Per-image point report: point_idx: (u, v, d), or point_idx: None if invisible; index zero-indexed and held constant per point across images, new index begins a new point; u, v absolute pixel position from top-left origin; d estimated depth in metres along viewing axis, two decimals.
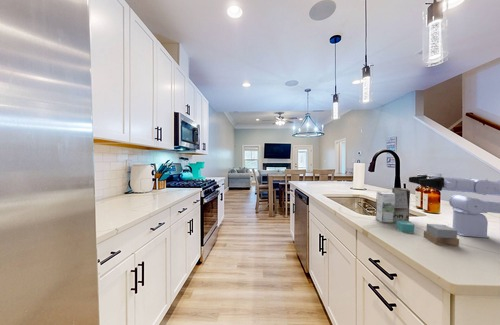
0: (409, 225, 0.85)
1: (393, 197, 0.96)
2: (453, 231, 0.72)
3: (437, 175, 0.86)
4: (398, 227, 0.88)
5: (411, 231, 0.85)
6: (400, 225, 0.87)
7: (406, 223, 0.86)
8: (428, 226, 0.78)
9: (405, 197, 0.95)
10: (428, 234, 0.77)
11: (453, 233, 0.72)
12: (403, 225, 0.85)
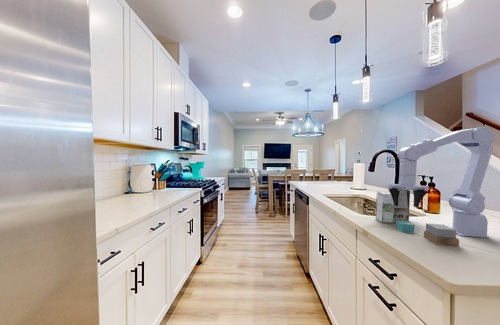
0: (409, 225, 0.85)
1: None
2: (452, 230, 0.73)
3: (410, 187, 0.84)
4: (398, 227, 0.88)
5: (411, 231, 0.85)
6: (400, 225, 0.87)
7: (406, 223, 0.86)
8: (427, 226, 0.79)
9: (405, 197, 0.95)
10: (428, 234, 0.77)
11: (452, 233, 0.73)
12: (403, 225, 0.85)
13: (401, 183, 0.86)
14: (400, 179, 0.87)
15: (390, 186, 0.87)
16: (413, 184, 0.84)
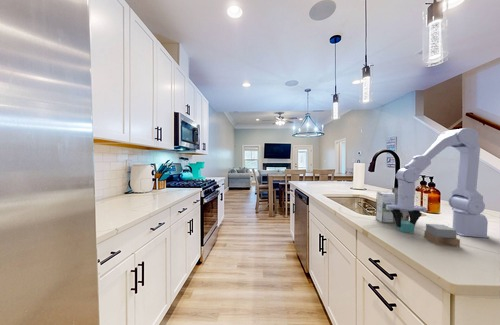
0: (409, 225, 0.85)
1: (393, 197, 0.96)
2: (453, 231, 0.73)
3: (409, 209, 0.84)
4: (398, 227, 0.88)
5: (411, 231, 0.85)
6: None
7: (406, 223, 0.86)
8: (427, 226, 0.78)
9: None
10: (429, 234, 0.77)
11: (453, 233, 0.73)
12: (403, 225, 0.85)
13: (400, 204, 0.86)
14: (399, 200, 0.87)
15: (389, 207, 0.87)
16: (412, 206, 0.84)
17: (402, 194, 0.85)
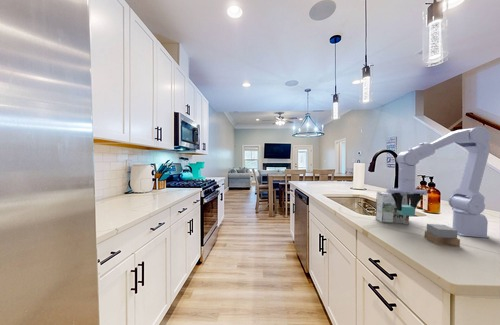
0: (410, 208, 0.85)
1: None
2: (453, 231, 0.72)
3: None
4: None
5: (412, 214, 0.84)
6: None
7: (407, 206, 0.86)
8: (428, 226, 0.78)
9: (405, 197, 0.95)
10: (429, 234, 0.77)
11: (453, 233, 0.72)
12: (404, 208, 0.85)
13: (400, 188, 0.86)
14: (399, 184, 0.87)
15: (390, 191, 0.87)
16: (412, 189, 0.84)
17: (403, 177, 0.85)
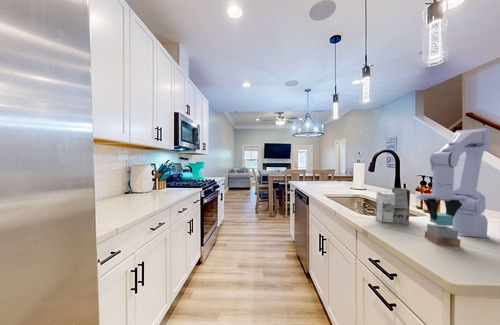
0: (447, 217, 0.73)
1: (393, 197, 0.96)
2: (454, 231, 0.72)
3: (447, 198, 0.72)
4: (433, 219, 0.77)
5: (449, 224, 0.73)
6: None
7: (443, 214, 0.75)
8: (429, 226, 0.78)
9: (405, 197, 0.95)
10: (429, 234, 0.77)
11: (454, 233, 0.72)
12: (440, 217, 0.74)
13: (436, 193, 0.75)
14: (434, 189, 0.75)
15: (423, 197, 0.76)
16: (451, 194, 0.73)
17: (445, 182, 0.73)
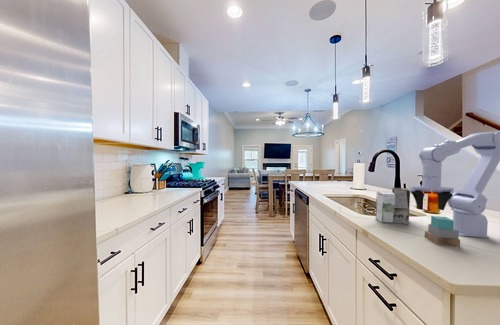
0: (447, 221, 0.73)
1: (393, 197, 0.96)
2: (455, 231, 0.72)
3: (435, 189, 0.80)
4: (433, 223, 0.77)
5: (450, 228, 0.73)
6: (436, 221, 0.75)
7: (443, 218, 0.75)
8: (430, 226, 0.78)
9: (405, 197, 0.95)
10: (429, 234, 0.77)
11: (455, 233, 0.72)
12: (440, 220, 0.74)
13: (425, 185, 0.82)
14: (424, 181, 0.83)
15: (414, 188, 0.83)
16: (438, 186, 0.80)
17: (429, 174, 0.81)
